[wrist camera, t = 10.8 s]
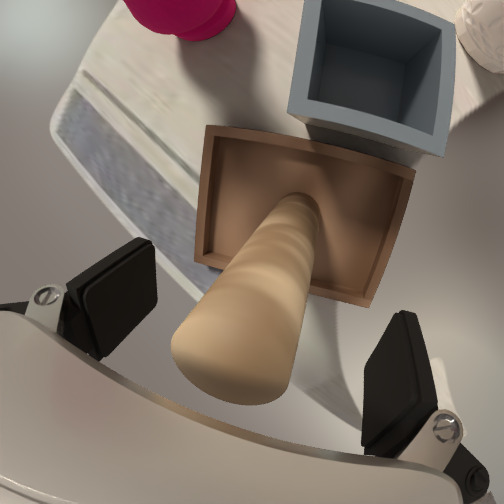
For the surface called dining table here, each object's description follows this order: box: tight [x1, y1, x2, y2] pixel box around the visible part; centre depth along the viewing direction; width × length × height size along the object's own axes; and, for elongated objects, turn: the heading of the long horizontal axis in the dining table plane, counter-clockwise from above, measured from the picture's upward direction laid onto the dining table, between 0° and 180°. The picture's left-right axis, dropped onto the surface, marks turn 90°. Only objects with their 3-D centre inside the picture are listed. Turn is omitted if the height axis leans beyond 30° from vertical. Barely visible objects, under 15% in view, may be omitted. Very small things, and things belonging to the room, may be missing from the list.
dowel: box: [171, 192, 321, 405], centre depth 14 cm, size 4×4×16 cm
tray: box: [194, 125, 416, 308], centre depth 21 cm, size 16×12×2 cm
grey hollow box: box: [287, 0, 456, 158], centre depth 12 cm, size 8×8×9 cm
